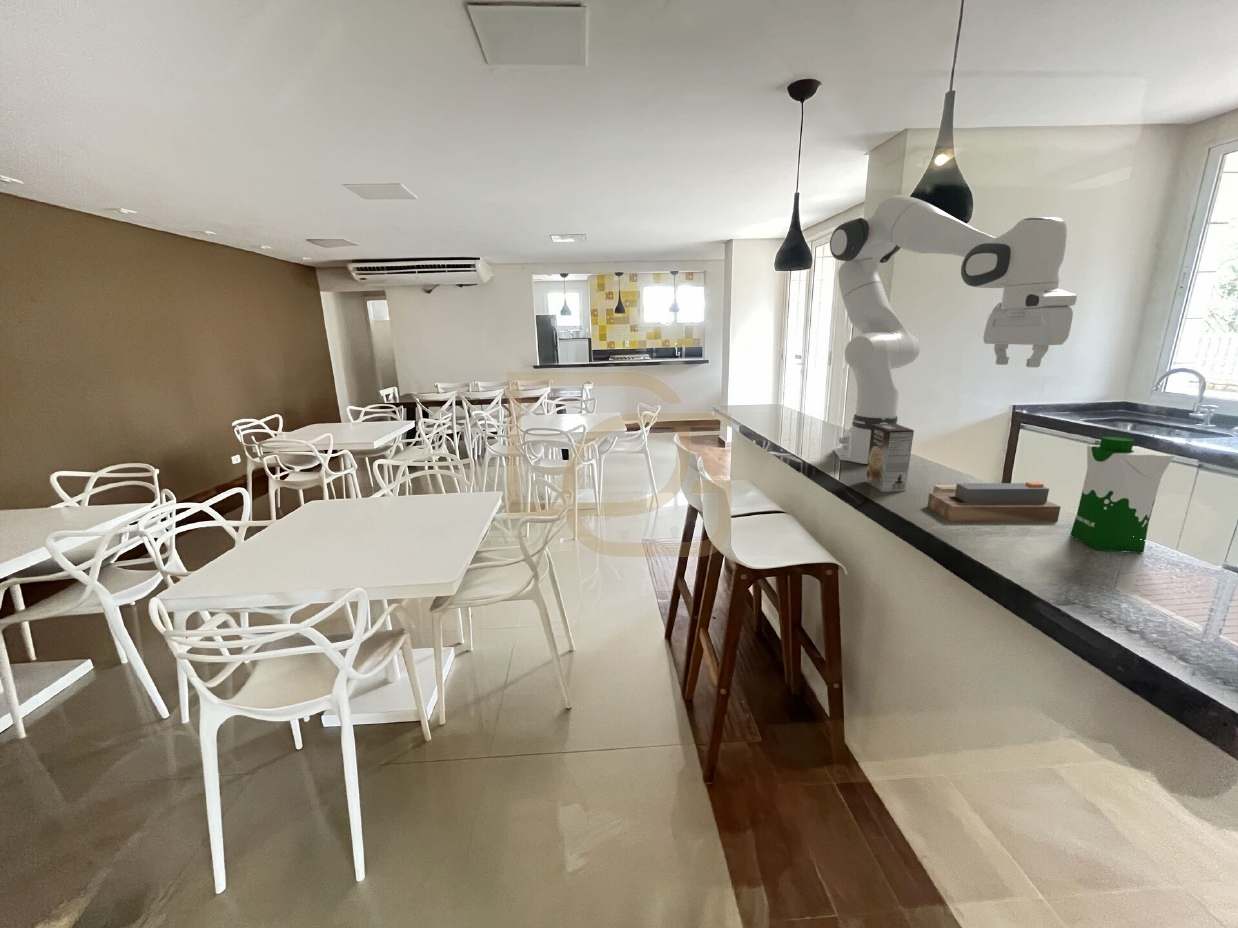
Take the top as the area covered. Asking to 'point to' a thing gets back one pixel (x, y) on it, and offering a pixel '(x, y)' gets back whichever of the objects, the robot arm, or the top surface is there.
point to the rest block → (944, 488)
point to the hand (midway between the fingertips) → (1016, 366)
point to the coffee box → (889, 457)
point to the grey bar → (1002, 492)
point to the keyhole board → (991, 509)
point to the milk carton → (1118, 494)
